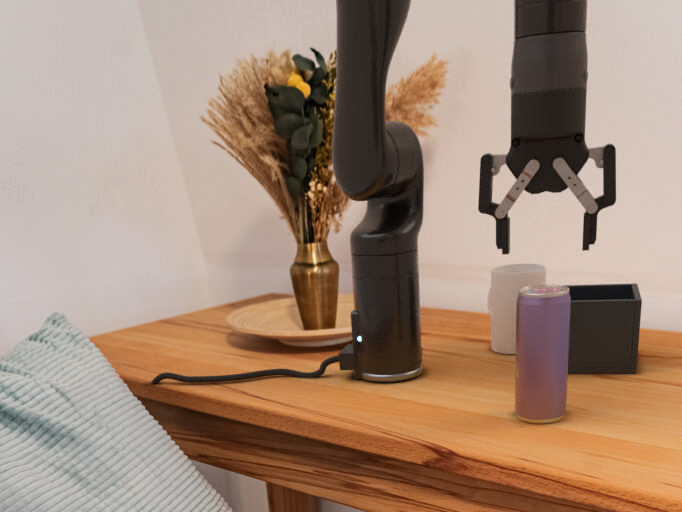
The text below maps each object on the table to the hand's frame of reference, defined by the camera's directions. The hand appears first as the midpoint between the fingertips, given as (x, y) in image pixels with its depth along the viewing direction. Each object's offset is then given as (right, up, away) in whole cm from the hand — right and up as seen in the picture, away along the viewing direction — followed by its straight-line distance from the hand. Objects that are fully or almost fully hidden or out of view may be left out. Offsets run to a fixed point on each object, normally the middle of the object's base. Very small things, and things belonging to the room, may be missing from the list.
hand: (545, 251), depth 92 cm
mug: (+4, -3, +39) cm, 39 cm away
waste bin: (+13, -7, +27) cm, 31 cm away
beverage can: (+1, -17, +8) cm, 19 cm away
